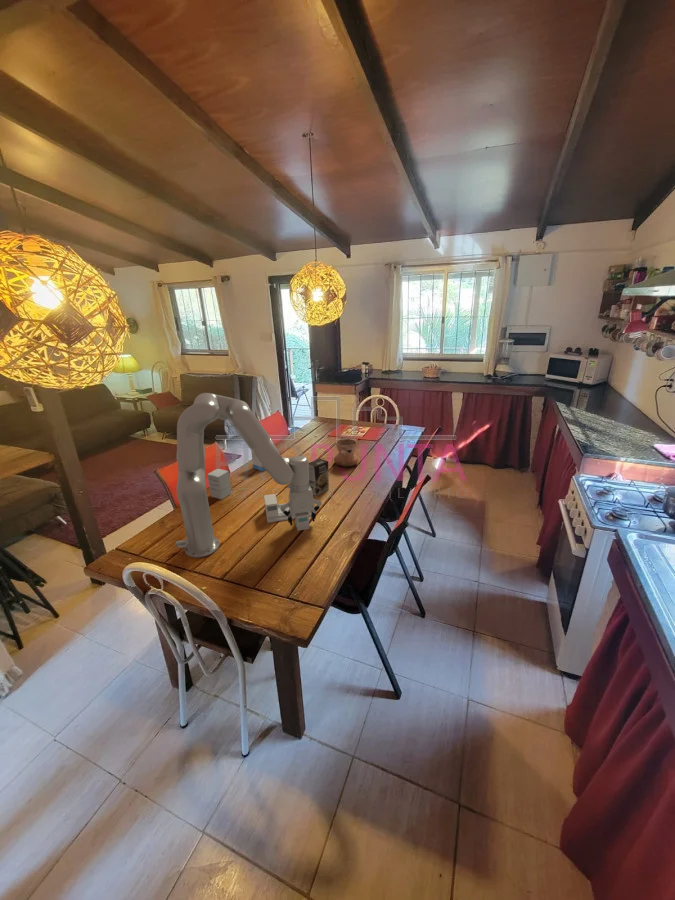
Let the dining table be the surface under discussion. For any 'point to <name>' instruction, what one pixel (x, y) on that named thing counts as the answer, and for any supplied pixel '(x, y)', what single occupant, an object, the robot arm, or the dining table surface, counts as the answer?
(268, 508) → the white channel bracket
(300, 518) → the block
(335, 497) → the dining table surface
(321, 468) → the coffee box
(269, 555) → the dining table surface
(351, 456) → the ceramic jug
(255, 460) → the ink box
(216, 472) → the supplement box
